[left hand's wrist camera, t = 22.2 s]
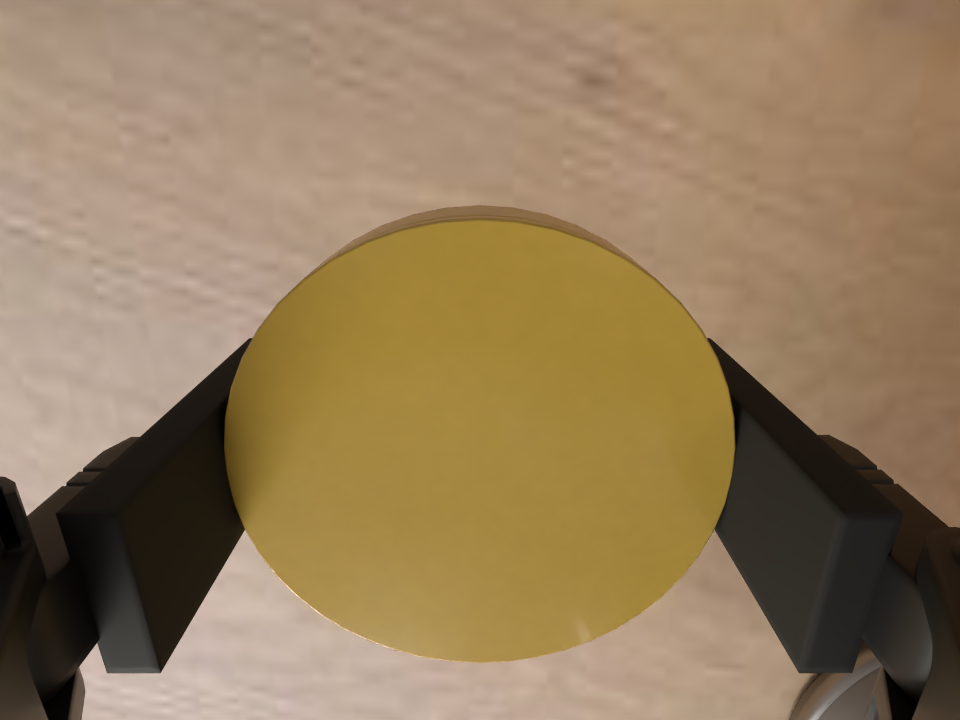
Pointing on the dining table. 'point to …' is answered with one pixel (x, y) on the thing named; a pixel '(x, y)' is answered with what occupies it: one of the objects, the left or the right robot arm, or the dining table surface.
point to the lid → (479, 436)
